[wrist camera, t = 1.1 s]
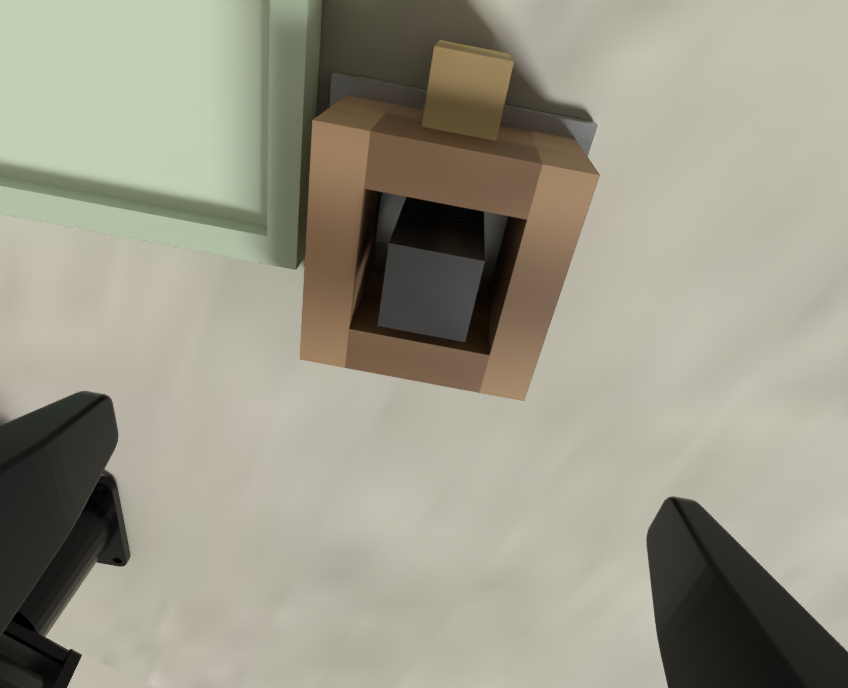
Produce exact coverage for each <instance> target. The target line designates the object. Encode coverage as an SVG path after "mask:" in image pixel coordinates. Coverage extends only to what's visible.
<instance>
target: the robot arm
mask: <svg viewBox="0 0 848 688" xmlns="http://www.w3.org/2000/svg"><path fill="white" fill-rule="evenodd" d="M117 442H118V429H117V423H116V418H115V412H114V407H113V402H112V400H111V398H110V397H109V396H107V395H105V394H100V393H94V392H89V391H81V392H78V393H75V394H73V395H70V396H68V397H66V398H63V399H61V400H59V401H56V402H54V403H52V404H49V405H47V406H45V407H42V408H40V409H38V410H35V411H33V412H31V413H28V414H26V415H24V416H21V417H19V418H17V419H14V420H12V421H10V422H7V423H5V424H3V425H0V688H67V686H68V684H69V682H70V680H71V678H72V676H73V673H74V671H75V669H76V667H77V665H78V663H79V660H80V658H81V656H82V654H80V653H78V652H76V651H74V650H73V649H70V650H67V649H66V648H64V647H62V646H60V645H58V644H57V643H55V642H53V641H51V640H49V639H48V638H46V635H47V634H48V632H49V631H50V629H51V628H52V626H53V625H54V623H55V622H56V620H57V619H58V618H59V616H60V615H61V613H62V612H63V610H64V609H65V607H66V606H67V604H68V603H69V601H70V600H71V598H72V597H73V596H74V594H75V593H76V591H77V590H78V588H79V587H80V585H81V584H82V582H83V581H84V579H85V578H86V576H87V575H88V573H89V572H90V571H91V569H92V568H93V566H94V565H95V563H96V562H97V563H103V564H109V565H114V566H125V565H126V564H127V562H128V561H129V559H130V551H129V546H128V540H127V535H126V530H125V525H124V520H123V514H122V509H121V504H120V499H119V493H118V488H117V485H116V483H115V482H114V481H113V480H112V479H110V478H107V477H103V476H101V474H102V472H103V471H104V469H105V467H106V465H107V463H108V461H109V459H110V457H111V456H112V454H113V452H114V450H115V448H116V445H117ZM646 542H647V552H648V561H649V570H650V579H651V588H652V597H653V607H654V616H655V624H656V631H657V637H658V643H659V648H660V653H661V657H662V662H663V666H664V671H665V675H666V680H667V684H668V688H848V652H847V651H846V650H845V649H844V648H843V647H842V646H841V645H840V644H839V643H838V642H837V641H836V640H835V639H834V638H833V637H832V636H831V635H830V634H829V633H828V632H827V631H826V630H825V629H824V628H823V627H822V626H821V625H820V624H819V623H818V622H817V621H816V620H815V619H814V618H813V617H812V616H811V615H810V614H809V613H808V612H807V611H806V610H805V609H804V608H803V607H802V606H801V605H800V604H799V603H798V602H797V601H796V600H795V599H794V598H793V597H792V596H791V595H790V594H789V593H788V592H787V591H786V590H785V589H784V588H783V587H782V586H781V585H780V584H779V583H778V582H777V581H776V580H775V579H774V578H773V577H772V576H771V575H770V574H769V573H768V572H767V571H766V570H765V569H764V568H763V567H762V566H761V565H760V564H759V563H758V562H757V561H756V560H755V559H754V558H753V557H752V556H751V555H750V554H749V553H748V552H747V551H746V550H745V549H744V548H743V547H742V546H741V545H740V544H739V543H738V542H737V541H736V540H735V539H734V538H733V537H732V536H731V535H730V534H729V533H728V532H727V531H726V530H725V529H724V528H723V527H722V526H721V525H720V524H719V523H718V522H717V521H716V520H715V519H714V518H713V517H712V516H711V515H710V514H709V513H708V512H707V511H706V510H705V509H704V508H703V507H702V506H701V505H700V504H699V503H697V502H696V501H694V500H690V499H685V498H679V497H669V498H667V499H666V500H665V501H664V503H663V504H662V506H661V508H660V510H659V511H658V513H657V515H656V517H655V518H654V520H653V522H652V524H651V525H650V527H649V529H648V533H647V541H646Z"/></svg>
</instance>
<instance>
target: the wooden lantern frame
mask: <svg viewBox="0 0 848 688" xmlns="http://www.w3.org/2000/svg"><path fill="white" fill-rule="evenodd" d="M513 64H514V61H513V59H512V57H511V55H510V53H505V52H500V51H495V50H490V49H485V48H480V47H475V46H470V45H464V44H459V43H454V42H449V41H444V40H439V41H438V43H437V44H436V45H435V46H434V50H433V56H432V63H431V69H430V76H429V82H428V89H427V95H426V101H425V108H424V110H422V109H417V108H411V107H406V106H401V105H396V104H391V103H386V102H380V101H375V100H370V99H365V98H360V97H354V96H349V95H346V96H345V97H343V98H342V99H341V100H339V101H338V102H336V103H335V104H334V105H332V106H331V107H330V108H328V109H327V110H325V111H324V112H323V113H321V114H320V115H319V116H317V117H316V118H314V119H313V120H312V138H311V156H310V175H309V194H308V213H307V232H306V251H305V270H304V288H303V307H302V326H301V345H300V359H301V360H307V361H312V362H317V363H323V364H328V365H333V366H339V367H344V368H349V369H355V370H360V371H366V372H371V373H376V374H382V375H387V376H392V377H398V378H403V379H409V380H414V381H419V382H425V383H430V384H435V385H441V386H446V387H451V388H457V389H462V390H468V391H473V392H478V393H484V394H489V395H494V396H500V397H505V398H511V399H516V400H521V401H524V400H525V397H526V394H527V391H528V388H529V385H530V382H531V379H532V376H533V373H534V370H535V367H536V364H537V361H538V358H539V355H540V352H541V349H542V346H543V343H544V340H545V337H546V334H547V331H548V328H549V325H550V323H551V320H552V317H553V314H554V311H555V308H556V305H557V302H558V299H559V296H560V293H561V290H562V287H563V284H564V281H565V278H566V275H567V272H568V269H569V266H570V263H571V260H572V257H573V254H574V251H575V248H576V245H577V242H578V239H579V236H580V233H581V230H582V227H583V224H584V221H585V218H586V215H587V212H588V209H589V206H590V203H591V200H592V197H593V194H594V191H595V188H596V185H597V182H598V179H599V176H600V175H599V173H598V172H597V170H596V169H595V167H594V166H593V164H592V163H591V161H590V160H589V158H588V157H587V155H586V154H585V152H584V151H583V149H582V148H581V146H580V145H579V143H578V142H577V140H576V139H572V138H567V137H562V136H556V135H551V134H546V133H541V132H536V131H530V130H525V129H520V128H515V127H510V126H505V125H500V122H501V117H502V113H503V108H504V104H505V100H506V95H507V91H508V86H509V82H510V78H511V73H512V69H513ZM382 192H385V193H390V194H395V195H401V196H406V197H411V198H416V199H422V200H427V201H432V202H437V203H443V204H448V205H453V206H458V207H463V208H469V209H474V210H479V211H484V212H490V213H495V214H500V215H505V216H508V219H507V223H506V227H505V231H504V235H503V239H502V242H501V246H500V250H499V254H498V258H497V262H496V266H495V270H494V274H493V278H492V281H491V285H490V289H489V293H488V294H486V293H481V292H477V295H476V300H475V304H474V308H473V312H472V316H471V320H470V324H469V328H468V332H467V336H466V341H465V342H461V341H456V340H451V339H445V338H440V337H435V336H429V335H424V334H419V333H413V332H408V331H403V330H397V329H392V328H387V327H381V326H378V319H379V311H380V304H381V297H382V290H383V283H384V276H385V274H380V273H375V272H372V266H373V258H374V250H375V242H376V234H377V226H378V218H379V210H380V202H381V194H382Z"/></svg>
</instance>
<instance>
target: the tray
mask: <svg viewBox="0 0 848 688" xmlns="http://www.w3.org/2000/svg"><path fill="white" fill-rule="evenodd" d="M322 6H323V0H0V214H4V215H9V216H14V217H20V218H25V219H30V220H35V221H41V222H46V223H51V224H57V225H62V226H67V227H73V228H78V229H83V230H89V231H94V232H99V233H104V234H110V235H115V236H120V237H126V238H131V239H136V240H142V241H147V242H152V243H157V244H163V245H168V246H173V247H179V248H184V249H189V250H195V251H200V252H205V253H211V254H216V255H221V256H226V257H232V258H237V259H242V260H248V261H253V262H258V263H264V264H269V265H274V266H279V267H285V268H290V269H295V270H296V269H297V268H298V266H299V265H300V263H301V262H302V260H303V259H304V257H305V251H306V232H307V213H308V194H309V175H310V156H311V138H312V120H313V119H314V118H316V112H317V94H318V77H319V59H320V41H321V23H322Z"/></svg>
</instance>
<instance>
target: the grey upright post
mask: <svg viewBox="0 0 848 688" xmlns="http://www.w3.org/2000/svg"><path fill="white" fill-rule="evenodd" d="M346 95H349V96H354V97H360V98H365V99H370V100H375V101H380V102H386V103H391V104H396V105H401V106H406V107H411V108H417V109H422V110H424V108H425V101H426V95H427V89H422V88H417V87H412V86H407V85H401V84H396V83H391V82H386V81H381V80H376V79H370V78H365V77H360V76H355V75H350V74H345V73H339V72H334V73H332V74H331V88H330V103H329V108H330V107H331V106H332V105H334V104H335V103H336V102H338V101H339V100H341V99H342V98H343V97H345V96H346ZM500 125H505V126H510V127H515V128H520V129H525V130H530V131H536V132H541V133H546V134H551V135H556V136H562V137H567V138H572V139H576V140H577V142H578V143H579V145H580V146H581V148H582V149H583V151H584V152H585V154H586V155H587V157H588V154H589V150H590V147H591V144H592V141H593V138H594V135H595V132H596V128H597V124H596V123H595V122H592V121H587V120H582V119H577V118H572V117H567V116H561V115H556V114H551V113H546V112H541V111H536V110H530V109H525V108H520V107H515V106H510V105H505V104H504V108H503V113H502V117H501V122H500ZM507 219H508V216H505V215H500V214H495V213H490V212H484V211H479V210H474V209H469V208H463V207H458V206H453V205H448V204H443V203H437V202H432V201H427V200H422V199H416V198H411V197H406V196H401V195H395V194H390V193H385V192H382V194H381V202H380V210H379V218H378V226H377V234H376V242H375V250H374V258H373V266H372V272H375V273H380V274H385V276H384V283H383V290H382V297H381V304H380V311H379V319H378V326H381V327H387V328H392V329H397V330H403V331H408V332H413V333H419V334H424V335H429V336H435V337H440V338H445V339H451V340H456V341H461V342H465V341H466V336H467V332H468V328H469V324H470V320H471V316H472V312H473V308H474V304H475V300H476V295H477V292H481V293H486V294H488V293H489V289H490V285H491V281H492V278H493V274H494V270H495V266H496V262H497V258H498V254H499V250H500V246H501V242H502V239H503V235H504V231H505V227H506V223H507Z"/></svg>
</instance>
